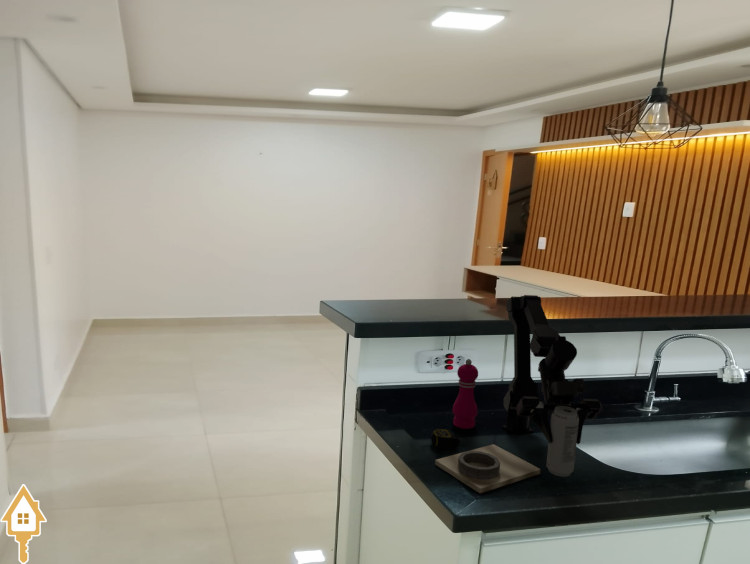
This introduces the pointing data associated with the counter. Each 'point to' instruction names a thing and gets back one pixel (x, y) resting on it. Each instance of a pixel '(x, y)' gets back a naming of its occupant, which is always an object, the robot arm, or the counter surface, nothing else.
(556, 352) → the robot arm
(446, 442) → the tape measure
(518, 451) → the counter surface
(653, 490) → the counter surface
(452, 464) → the collar board
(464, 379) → the pepper mill
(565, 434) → the energy drink can
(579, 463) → the counter surface
